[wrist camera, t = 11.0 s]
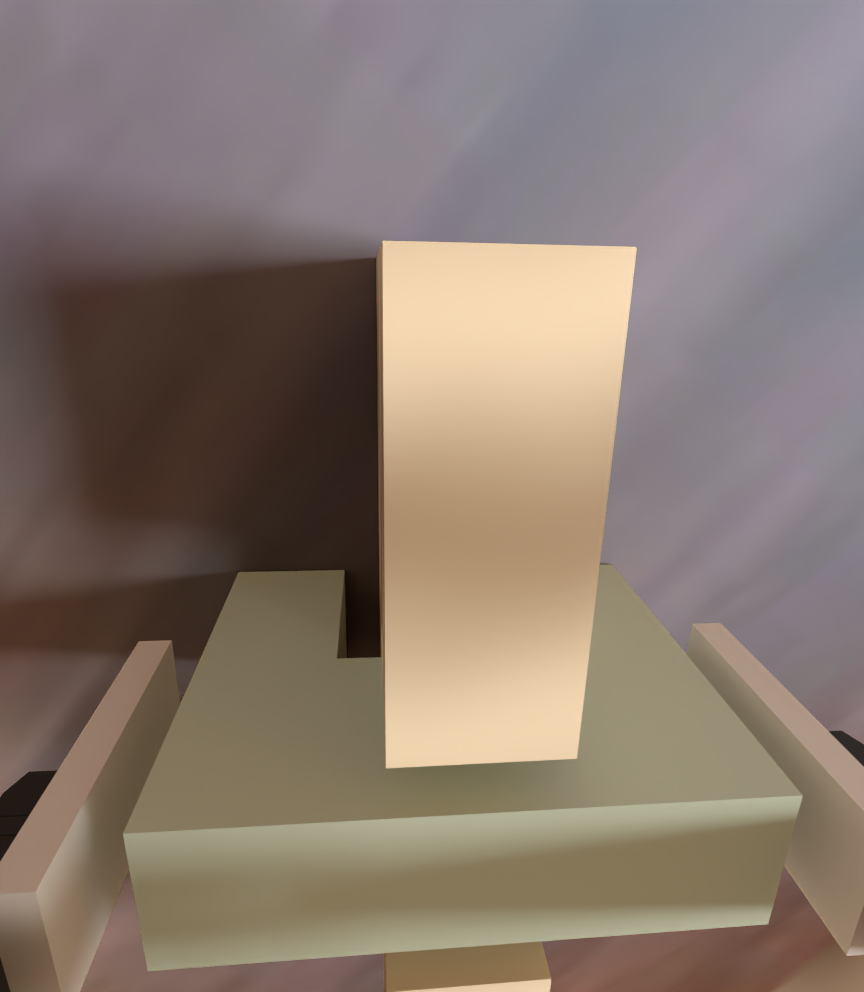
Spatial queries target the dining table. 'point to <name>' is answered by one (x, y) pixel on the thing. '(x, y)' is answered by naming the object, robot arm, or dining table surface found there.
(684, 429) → the dining table surface
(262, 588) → the sage plate
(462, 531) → the birch board
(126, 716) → the robot arm
